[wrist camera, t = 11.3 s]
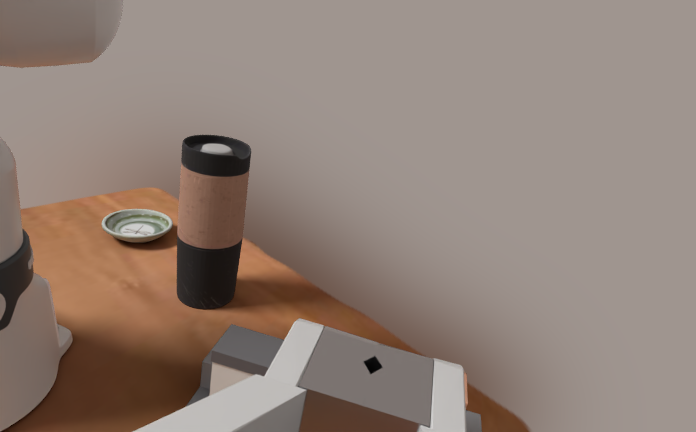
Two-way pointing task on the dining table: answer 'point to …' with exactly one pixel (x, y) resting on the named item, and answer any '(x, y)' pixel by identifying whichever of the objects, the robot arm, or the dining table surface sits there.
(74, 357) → the dining table surface
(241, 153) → the travel mug
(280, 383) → the robot arm
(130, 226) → the saucer
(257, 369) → the charcoal key
